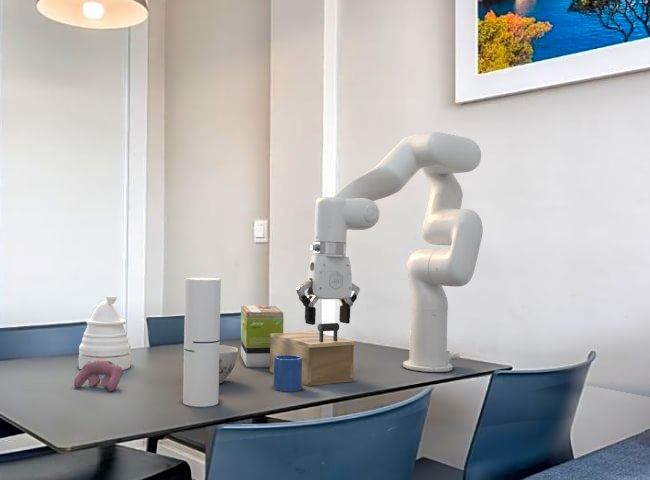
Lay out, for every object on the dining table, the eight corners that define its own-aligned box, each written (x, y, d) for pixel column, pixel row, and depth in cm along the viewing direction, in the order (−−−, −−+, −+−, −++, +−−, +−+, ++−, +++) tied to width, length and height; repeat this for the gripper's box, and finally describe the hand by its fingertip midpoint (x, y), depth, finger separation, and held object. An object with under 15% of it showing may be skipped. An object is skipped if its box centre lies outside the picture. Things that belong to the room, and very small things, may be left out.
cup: (291, 384, 155) (292, 354, 155) (306, 390, 149) (307, 358, 149) (268, 386, 152) (269, 355, 152) (282, 392, 147) (283, 360, 146)
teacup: (247, 384, 153) (248, 349, 153) (197, 390, 147) (198, 353, 147) (217, 372, 167) (218, 340, 167) (170, 377, 161) (171, 343, 160)
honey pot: (140, 365, 174) (141, 296, 174) (105, 373, 163) (106, 299, 163) (104, 360, 181) (105, 293, 181) (67, 367, 170) (68, 296, 170)
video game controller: (120, 395, 147) (127, 364, 150) (110, 390, 143) (118, 358, 146) (81, 391, 150) (89, 361, 153) (70, 386, 146) (79, 355, 149)
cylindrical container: (213, 407, 132) (215, 280, 132) (178, 405, 134) (180, 279, 133) (222, 399, 139) (224, 278, 139) (188, 397, 141) (191, 277, 140)
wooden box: (353, 381, 160) (353, 344, 159) (308, 386, 154) (309, 347, 153) (311, 368, 175) (312, 334, 175) (269, 371, 169) (270, 336, 169)
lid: (355, 344, 159) (356, 323, 159) (311, 347, 153) (311, 325, 153) (312, 334, 175) (312, 314, 175) (270, 336, 169) (270, 316, 169)
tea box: (239, 357, 189) (240, 304, 189) (274, 357, 190) (276, 305, 190) (245, 367, 174) (246, 310, 174) (283, 367, 175) (284, 310, 175)
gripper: (307, 249, 150) (305, 326, 150) (369, 251, 158) (367, 324, 158) (289, 249, 157) (287, 322, 157) (350, 250, 165) (347, 320, 165)
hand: (327, 323), depth 158 cm, fingers open, 9 cm apart
